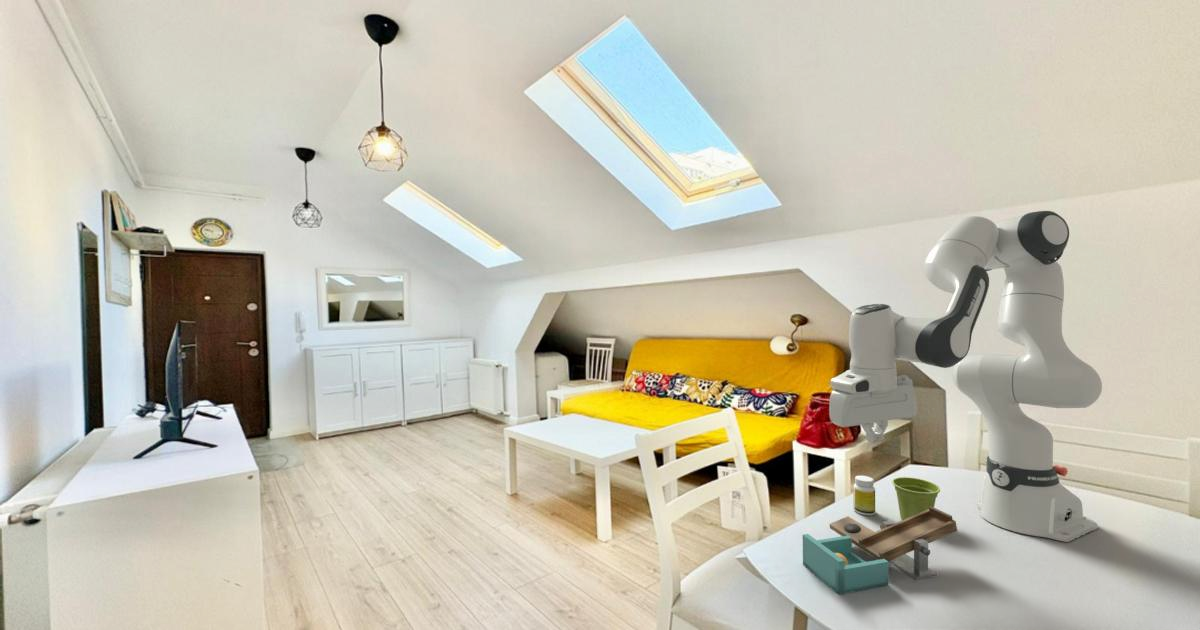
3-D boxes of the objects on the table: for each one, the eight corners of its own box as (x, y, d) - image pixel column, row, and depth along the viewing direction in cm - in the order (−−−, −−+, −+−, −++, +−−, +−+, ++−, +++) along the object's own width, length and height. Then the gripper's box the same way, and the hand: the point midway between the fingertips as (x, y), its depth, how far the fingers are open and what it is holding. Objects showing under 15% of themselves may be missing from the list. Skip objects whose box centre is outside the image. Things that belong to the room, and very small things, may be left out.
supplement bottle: (878, 516, 113) (878, 482, 112) (857, 515, 114) (857, 481, 113) (871, 508, 117) (871, 475, 117) (850, 506, 118) (850, 474, 118)
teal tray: (848, 556, 96) (848, 527, 96) (888, 585, 86) (888, 553, 86) (802, 564, 93) (802, 534, 93) (839, 594, 84) (838, 561, 83)
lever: (896, 500, 106) (893, 489, 106) (957, 530, 92) (954, 517, 92) (830, 528, 102) (827, 516, 102) (883, 563, 88) (880, 550, 88)
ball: (841, 551, 92) (827, 547, 91) (855, 561, 88) (840, 557, 87) (836, 568, 91) (821, 564, 91) (849, 579, 88) (834, 575, 87)
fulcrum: (892, 548, 98) (892, 518, 98) (938, 576, 88) (938, 542, 88) (872, 551, 97) (872, 521, 97) (916, 580, 87) (916, 546, 87)
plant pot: (942, 534, 104) (942, 495, 104) (892, 524, 109) (892, 487, 109) (938, 517, 112) (938, 481, 112) (892, 508, 117) (892, 474, 117)
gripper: (899, 371, 107) (900, 430, 108) (823, 381, 103) (825, 442, 103) (924, 376, 101) (925, 438, 102) (845, 386, 96) (847, 451, 97)
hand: (874, 440), depth 103 cm, fingers closed
